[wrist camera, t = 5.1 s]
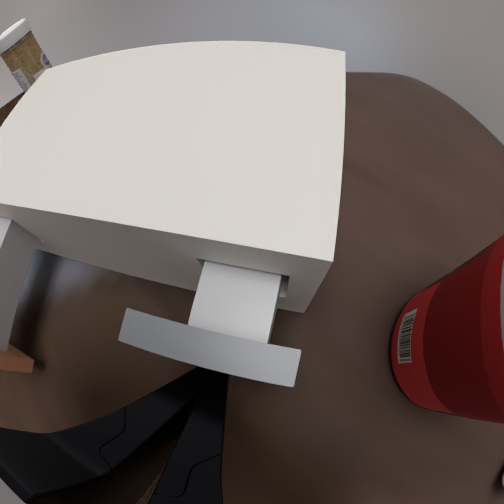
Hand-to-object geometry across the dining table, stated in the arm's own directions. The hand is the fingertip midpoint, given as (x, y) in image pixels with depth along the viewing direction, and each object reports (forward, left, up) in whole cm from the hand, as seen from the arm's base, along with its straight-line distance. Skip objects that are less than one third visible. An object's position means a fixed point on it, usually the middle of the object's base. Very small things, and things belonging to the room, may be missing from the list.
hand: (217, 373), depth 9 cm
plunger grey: (+6, +3, -6) cm, 9 cm away
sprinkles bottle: (+5, +36, -8) cm, 37 cm away
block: (+5, +12, -7) cm, 15 cm away
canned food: (+8, -9, -8) cm, 15 cm away
